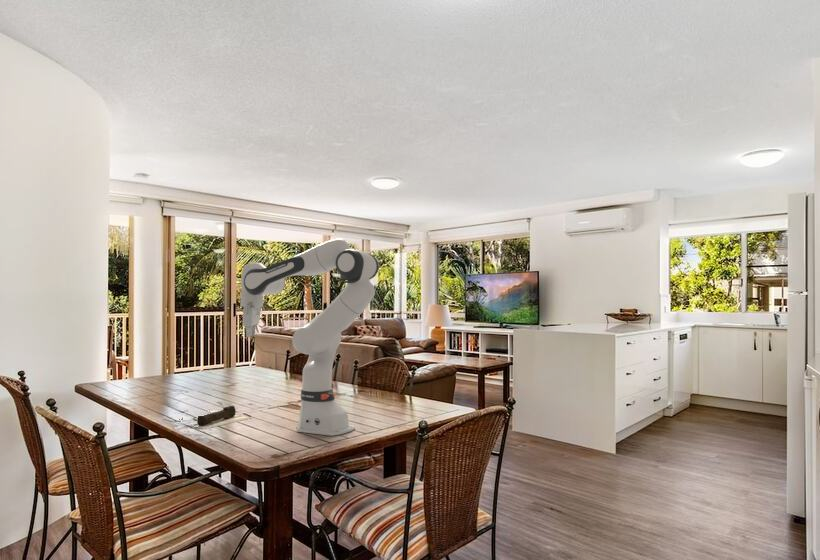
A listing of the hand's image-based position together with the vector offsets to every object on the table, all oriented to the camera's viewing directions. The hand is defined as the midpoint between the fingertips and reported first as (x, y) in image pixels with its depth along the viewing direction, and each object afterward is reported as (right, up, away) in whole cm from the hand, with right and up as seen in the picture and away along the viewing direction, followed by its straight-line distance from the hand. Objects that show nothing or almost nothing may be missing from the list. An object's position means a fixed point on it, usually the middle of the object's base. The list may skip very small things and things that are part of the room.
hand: (250, 336), depth 200 cm
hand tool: (-12, -33, -5) cm, 35 cm away
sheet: (-17, -33, -1) cm, 38 cm away
